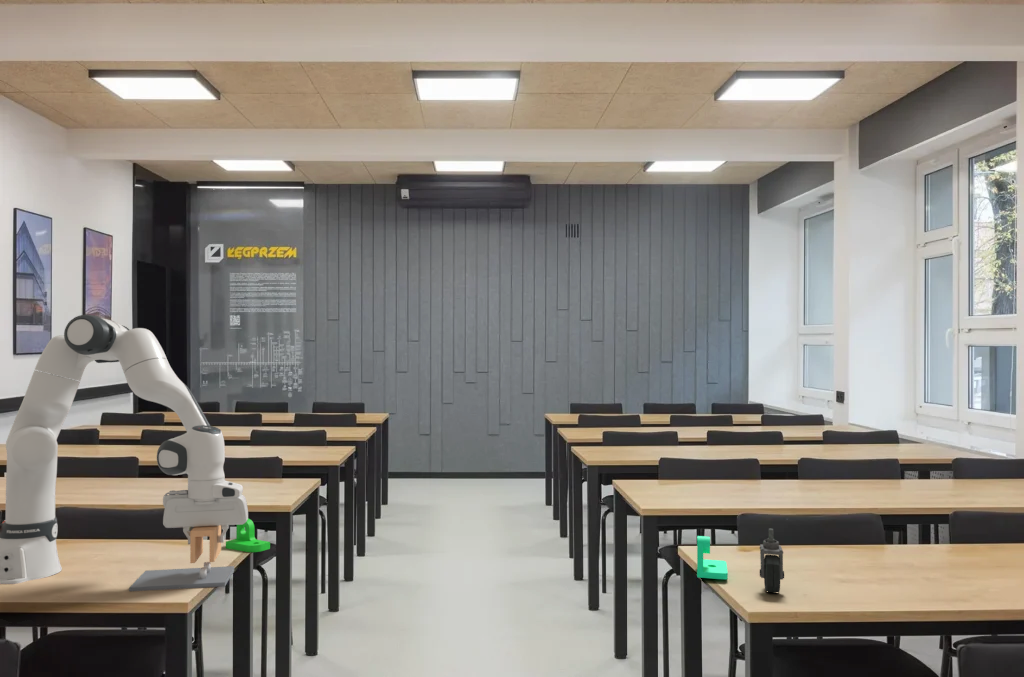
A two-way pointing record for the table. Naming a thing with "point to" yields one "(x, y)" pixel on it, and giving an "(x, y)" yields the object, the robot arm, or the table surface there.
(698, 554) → the camera mount
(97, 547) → the table surface
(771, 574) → the caster wheel
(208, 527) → the arch block
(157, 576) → the plate
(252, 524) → the mechanical part
